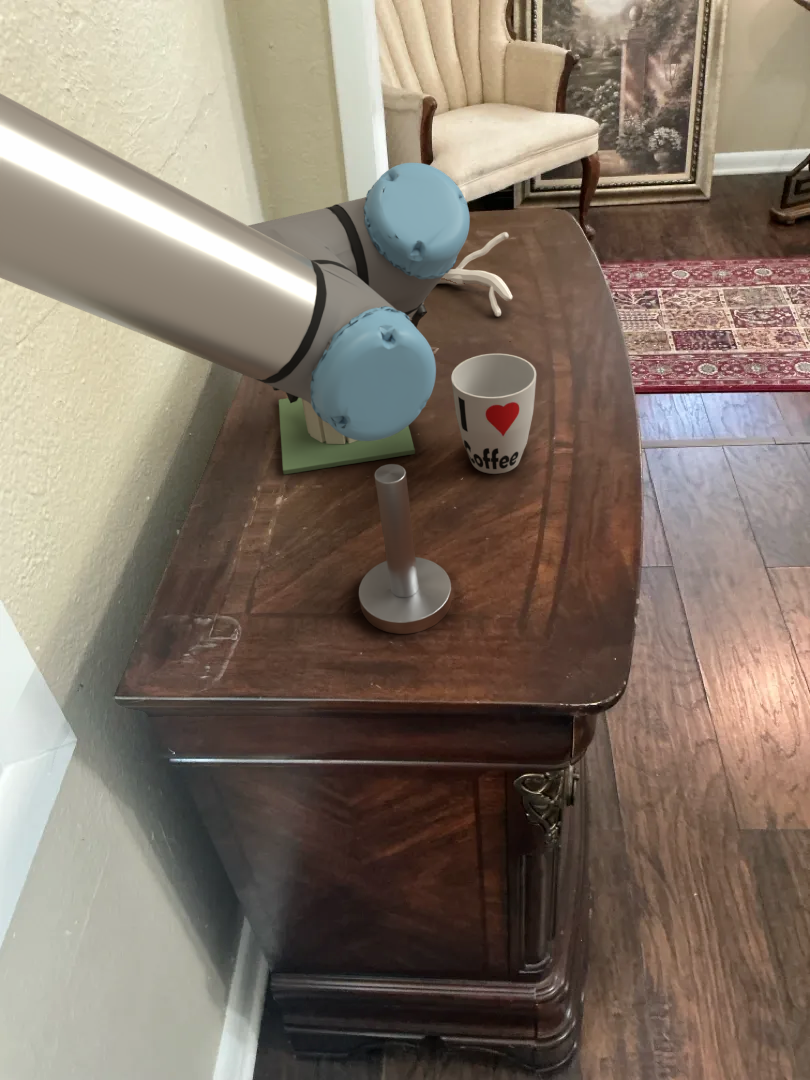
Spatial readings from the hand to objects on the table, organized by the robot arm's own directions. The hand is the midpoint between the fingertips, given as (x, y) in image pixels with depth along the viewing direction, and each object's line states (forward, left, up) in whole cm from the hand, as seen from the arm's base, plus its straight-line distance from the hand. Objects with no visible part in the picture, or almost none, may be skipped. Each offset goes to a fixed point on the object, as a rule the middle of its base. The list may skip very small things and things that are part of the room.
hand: (325, 377), depth 95 cm
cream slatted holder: (+1, -3, -4) cm, 5 cm away
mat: (+1, -3, -5) cm, 6 cm away
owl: (+14, +25, -5) cm, 29 cm away
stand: (+4, -31, -5) cm, 32 cm away
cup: (+16, -13, -5) cm, 21 cm away
